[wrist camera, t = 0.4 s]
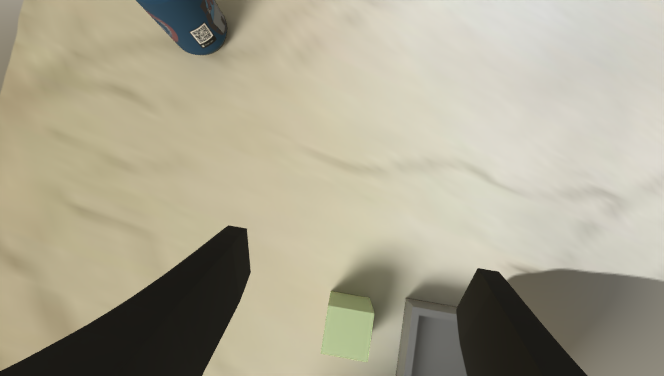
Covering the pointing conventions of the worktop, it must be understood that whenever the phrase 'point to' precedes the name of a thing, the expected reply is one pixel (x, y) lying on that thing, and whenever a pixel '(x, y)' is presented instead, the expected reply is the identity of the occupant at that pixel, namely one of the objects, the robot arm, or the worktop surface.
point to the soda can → (190, 23)
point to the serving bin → (429, 341)
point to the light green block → (348, 327)
